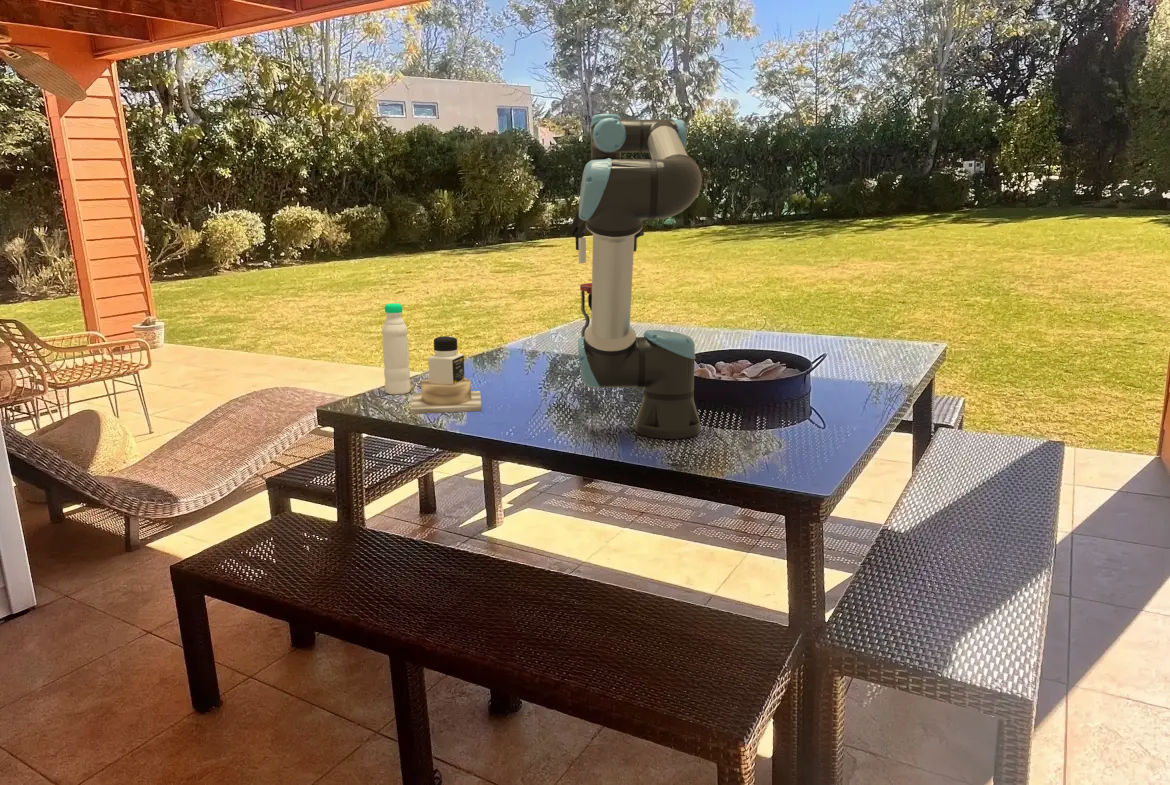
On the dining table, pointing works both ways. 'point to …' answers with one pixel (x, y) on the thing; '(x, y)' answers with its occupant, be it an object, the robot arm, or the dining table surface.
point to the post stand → (446, 398)
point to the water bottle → (395, 351)
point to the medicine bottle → (446, 362)
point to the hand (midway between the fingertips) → (605, 264)
